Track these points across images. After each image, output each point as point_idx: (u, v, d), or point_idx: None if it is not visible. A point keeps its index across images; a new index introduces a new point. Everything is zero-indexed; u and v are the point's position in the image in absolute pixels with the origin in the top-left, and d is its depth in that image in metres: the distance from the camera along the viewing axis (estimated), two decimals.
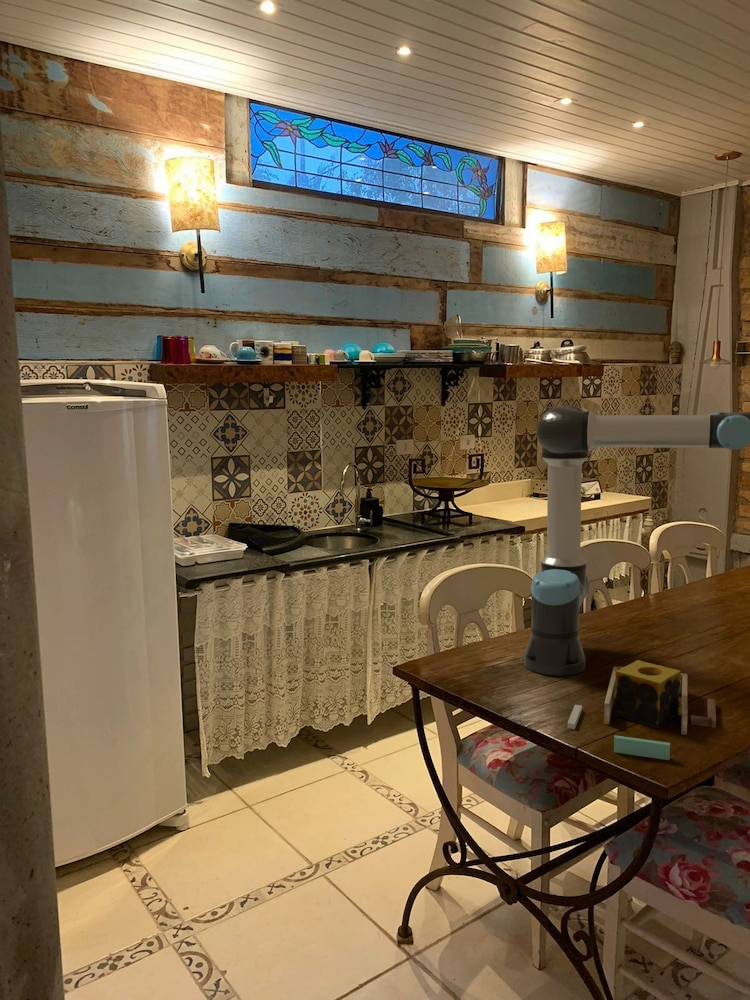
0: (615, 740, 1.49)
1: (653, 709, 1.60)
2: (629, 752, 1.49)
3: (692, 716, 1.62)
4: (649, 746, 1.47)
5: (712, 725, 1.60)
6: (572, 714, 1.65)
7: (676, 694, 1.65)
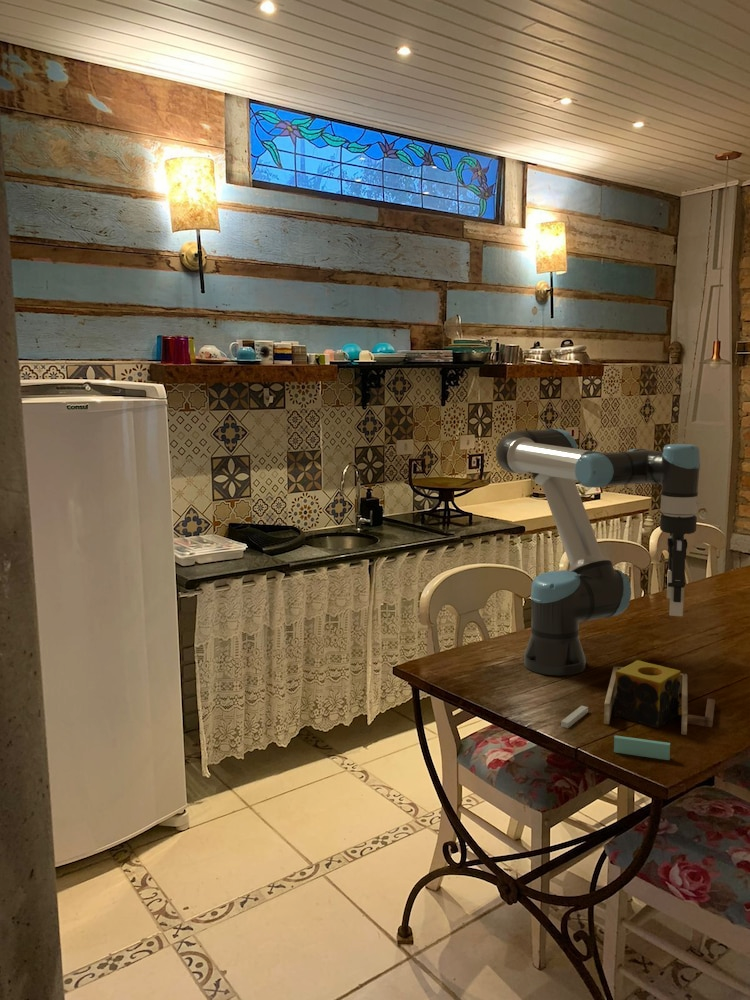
0: (615, 740, 1.49)
1: (653, 709, 1.60)
2: (629, 752, 1.49)
3: (689, 715, 1.62)
4: (649, 746, 1.47)
5: (708, 725, 1.60)
6: (572, 714, 1.65)
7: (676, 694, 1.65)
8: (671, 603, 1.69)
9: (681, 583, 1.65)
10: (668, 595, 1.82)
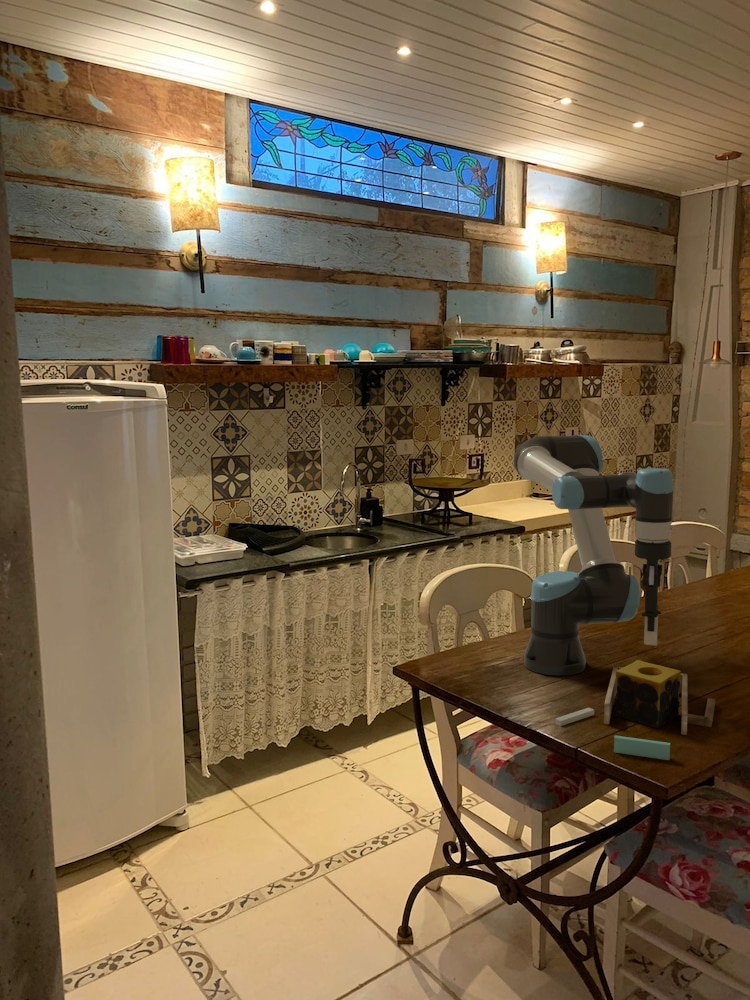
0: (615, 740, 1.49)
1: (653, 709, 1.60)
2: (629, 752, 1.49)
3: (688, 715, 1.62)
4: (649, 746, 1.47)
5: (708, 724, 1.60)
6: (572, 713, 1.65)
7: (676, 694, 1.65)
8: (645, 632, 1.73)
9: (653, 615, 1.69)
10: None
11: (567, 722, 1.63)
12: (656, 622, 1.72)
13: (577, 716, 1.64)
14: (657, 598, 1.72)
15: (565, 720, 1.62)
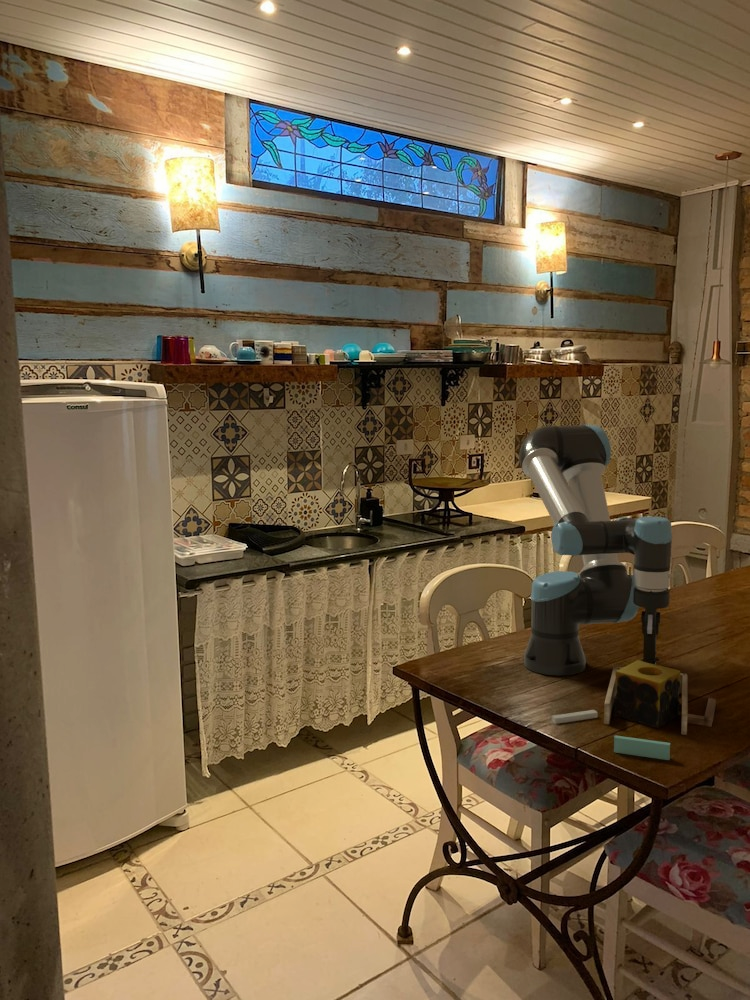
0: (615, 740, 1.49)
1: (653, 709, 1.60)
2: (629, 752, 1.49)
3: (688, 715, 1.63)
4: (649, 746, 1.47)
5: (708, 724, 1.60)
6: (572, 713, 1.65)
7: (676, 694, 1.65)
8: None
9: (651, 662, 1.70)
10: None
11: (564, 721, 1.63)
12: None
13: (576, 716, 1.64)
14: None
15: (561, 718, 1.63)
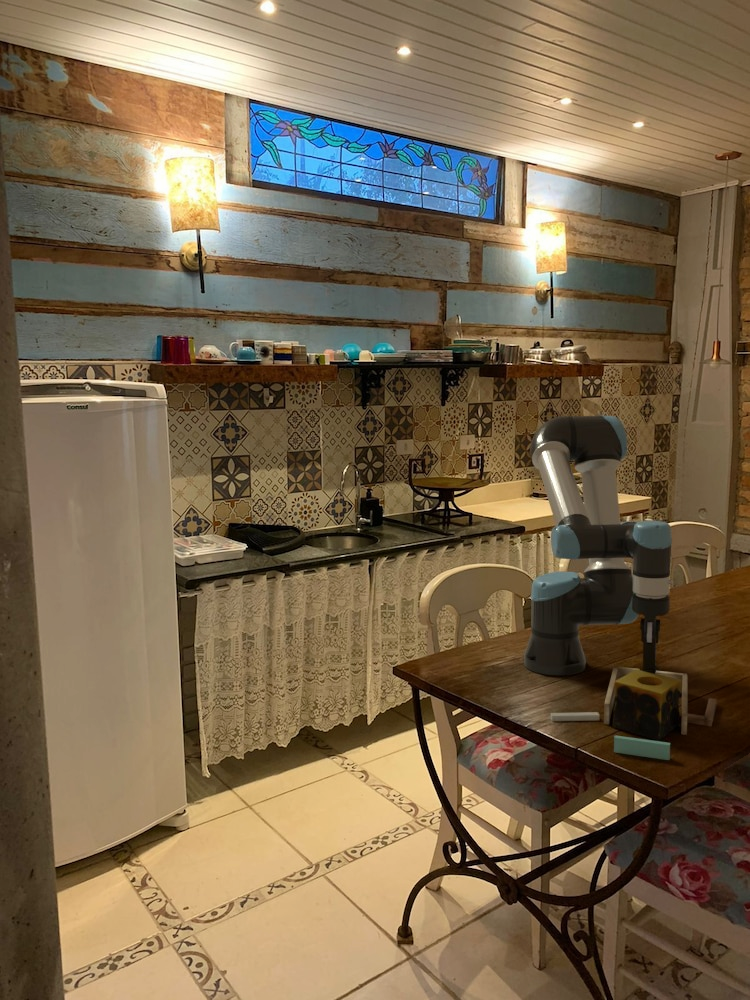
0: (615, 740, 1.49)
1: (654, 720, 1.54)
2: (629, 752, 1.49)
3: (688, 714, 1.63)
4: (649, 746, 1.47)
5: (708, 724, 1.60)
6: (572, 713, 1.65)
7: (676, 704, 1.59)
8: None
9: (651, 672, 1.64)
10: None
11: (561, 719, 1.64)
12: None
13: (575, 716, 1.64)
14: None
15: (559, 717, 1.64)
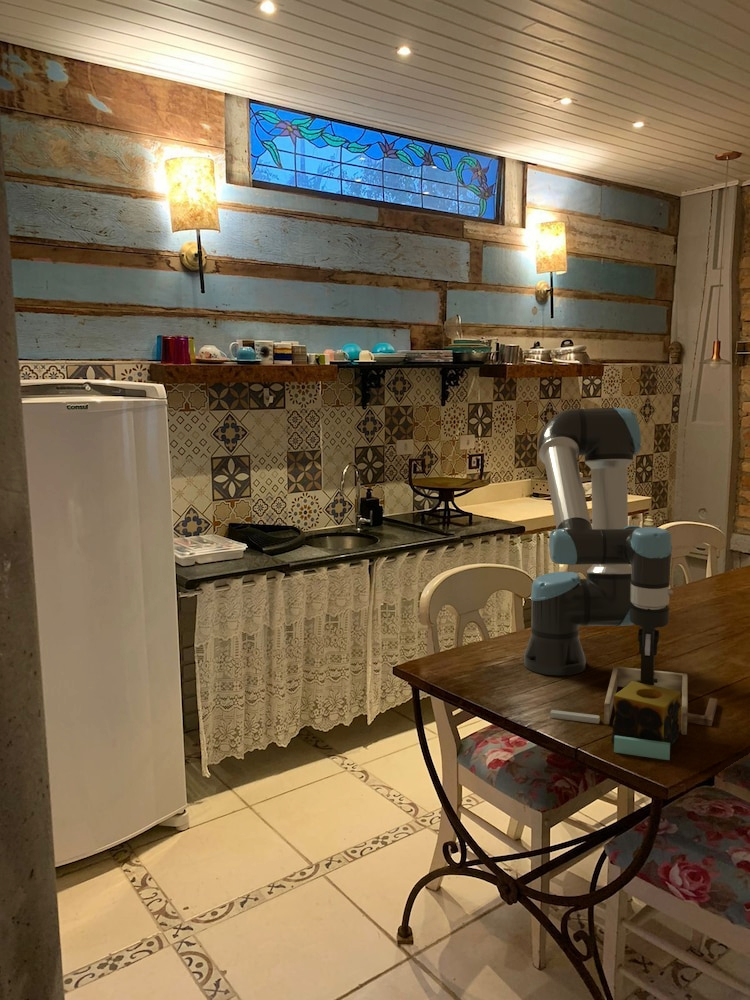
0: (615, 740, 1.49)
1: (656, 735, 1.48)
2: (629, 752, 1.49)
3: (688, 714, 1.63)
4: (649, 746, 1.47)
5: (708, 723, 1.60)
6: (573, 713, 1.65)
7: (676, 717, 1.53)
8: None
9: None
10: None
11: (560, 717, 1.65)
12: None
13: (574, 716, 1.64)
14: None
15: (557, 714, 1.65)
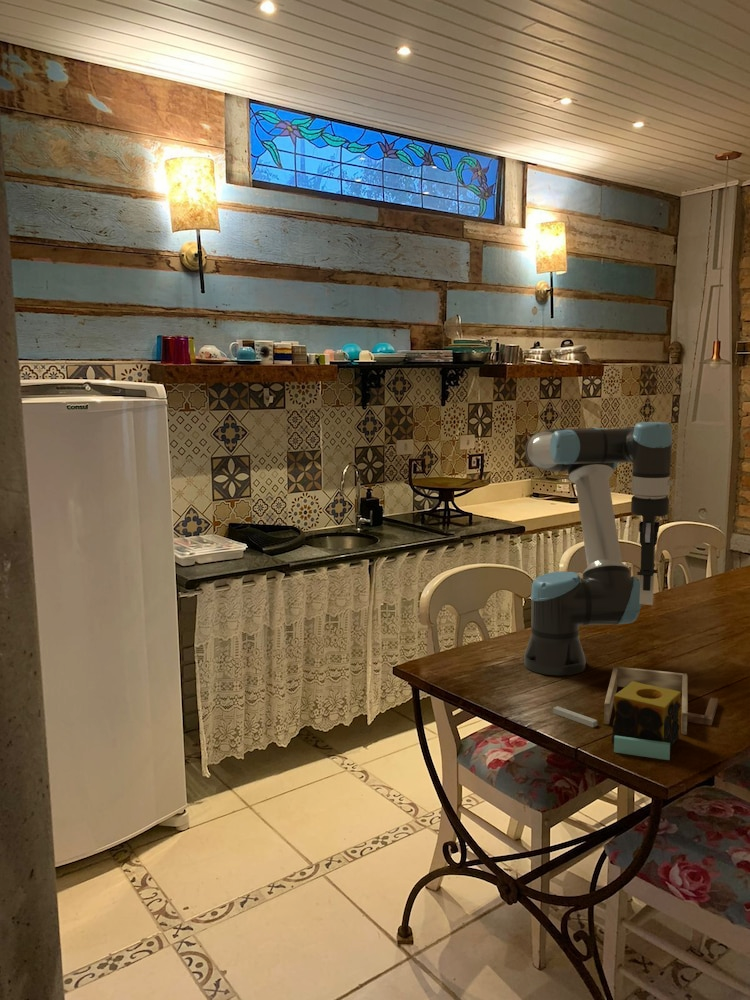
0: (615, 740, 1.49)
1: (656, 735, 1.48)
2: (629, 752, 1.49)
3: (688, 713, 1.63)
4: (649, 746, 1.47)
5: (707, 723, 1.61)
6: (574, 713, 1.65)
7: (676, 717, 1.53)
8: (641, 591, 1.67)
9: (649, 573, 1.63)
10: None
11: (561, 714, 1.67)
12: (652, 581, 1.66)
13: (572, 716, 1.64)
14: None
15: (559, 711, 1.67)
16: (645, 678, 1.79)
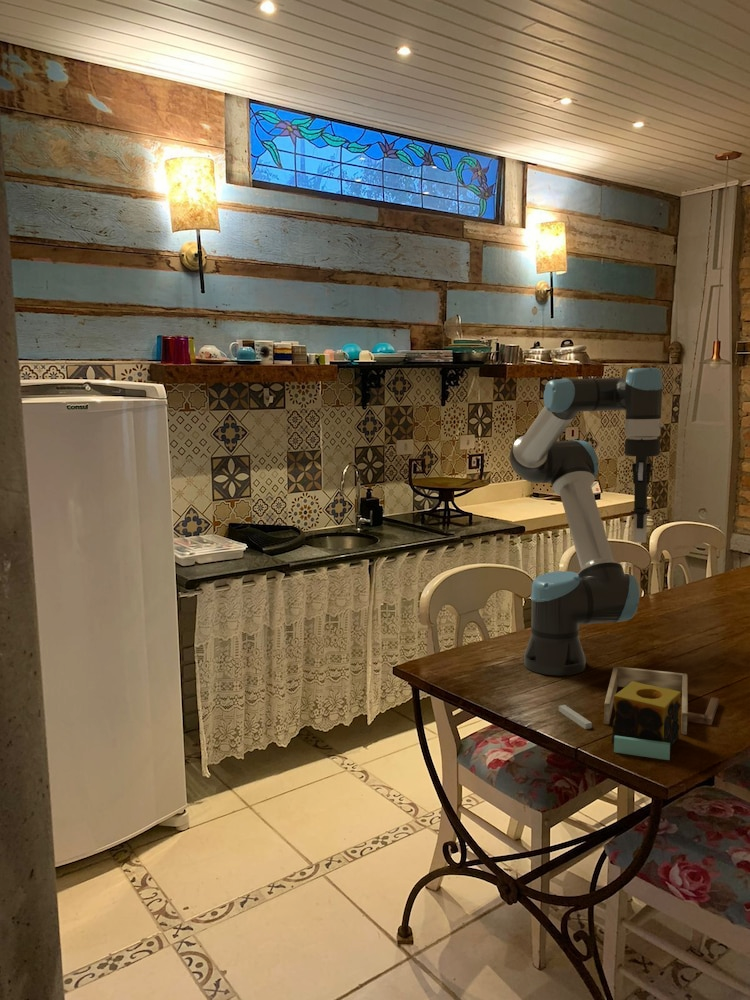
0: (615, 740, 1.49)
1: (656, 735, 1.48)
2: (629, 752, 1.49)
3: (688, 713, 1.63)
4: (649, 746, 1.47)
5: (707, 722, 1.61)
6: (575, 713, 1.65)
7: (676, 717, 1.53)
8: (635, 530, 1.76)
9: (642, 511, 1.73)
10: None
11: (564, 713, 1.67)
12: (645, 519, 1.75)
13: (571, 715, 1.65)
14: None
15: (562, 709, 1.68)
16: (645, 678, 1.79)
